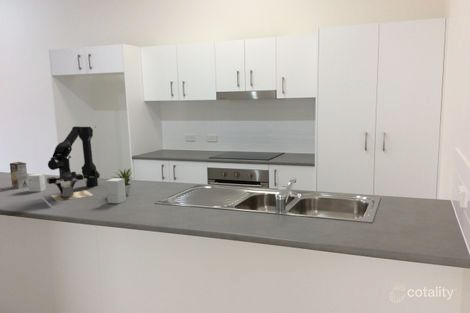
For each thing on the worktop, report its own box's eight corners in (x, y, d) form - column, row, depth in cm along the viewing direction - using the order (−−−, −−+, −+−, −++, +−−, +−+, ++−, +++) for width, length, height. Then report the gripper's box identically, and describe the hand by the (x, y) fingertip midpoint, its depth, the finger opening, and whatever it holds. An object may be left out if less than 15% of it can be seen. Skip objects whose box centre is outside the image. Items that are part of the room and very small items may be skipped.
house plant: (120, 191, 240) (119, 165, 238) (141, 191, 237) (140, 165, 235) (108, 196, 226) (107, 169, 224) (130, 197, 224) (129, 169, 221)
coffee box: (11, 187, 256) (9, 163, 254) (21, 185, 262) (18, 161, 259) (19, 188, 252) (16, 164, 249) (28, 186, 257) (26, 162, 254)
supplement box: (126, 200, 218) (125, 178, 216) (118, 203, 211) (117, 181, 209) (115, 199, 220) (114, 177, 218) (107, 202, 213) (105, 180, 211)
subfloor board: (85, 191, 239) (85, 190, 239) (93, 196, 227) (93, 195, 226) (50, 197, 228) (50, 195, 227) (57, 202, 215) (57, 200, 215)
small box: (46, 189, 247) (44, 173, 246) (40, 191, 242) (39, 175, 240) (34, 189, 248) (32, 173, 246) (28, 191, 242) (27, 175, 241)
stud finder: (69, 192, 230) (68, 184, 229) (73, 195, 223) (72, 186, 222) (60, 193, 227) (59, 185, 226) (64, 196, 220) (63, 187, 219)
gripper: (49, 170, 211) (52, 198, 213) (85, 166, 222) (87, 193, 224) (45, 168, 219) (48, 194, 222) (79, 164, 230) (81, 189, 233)
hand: (66, 193), depth 225 cm, fingers closed on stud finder, 5 cm apart
